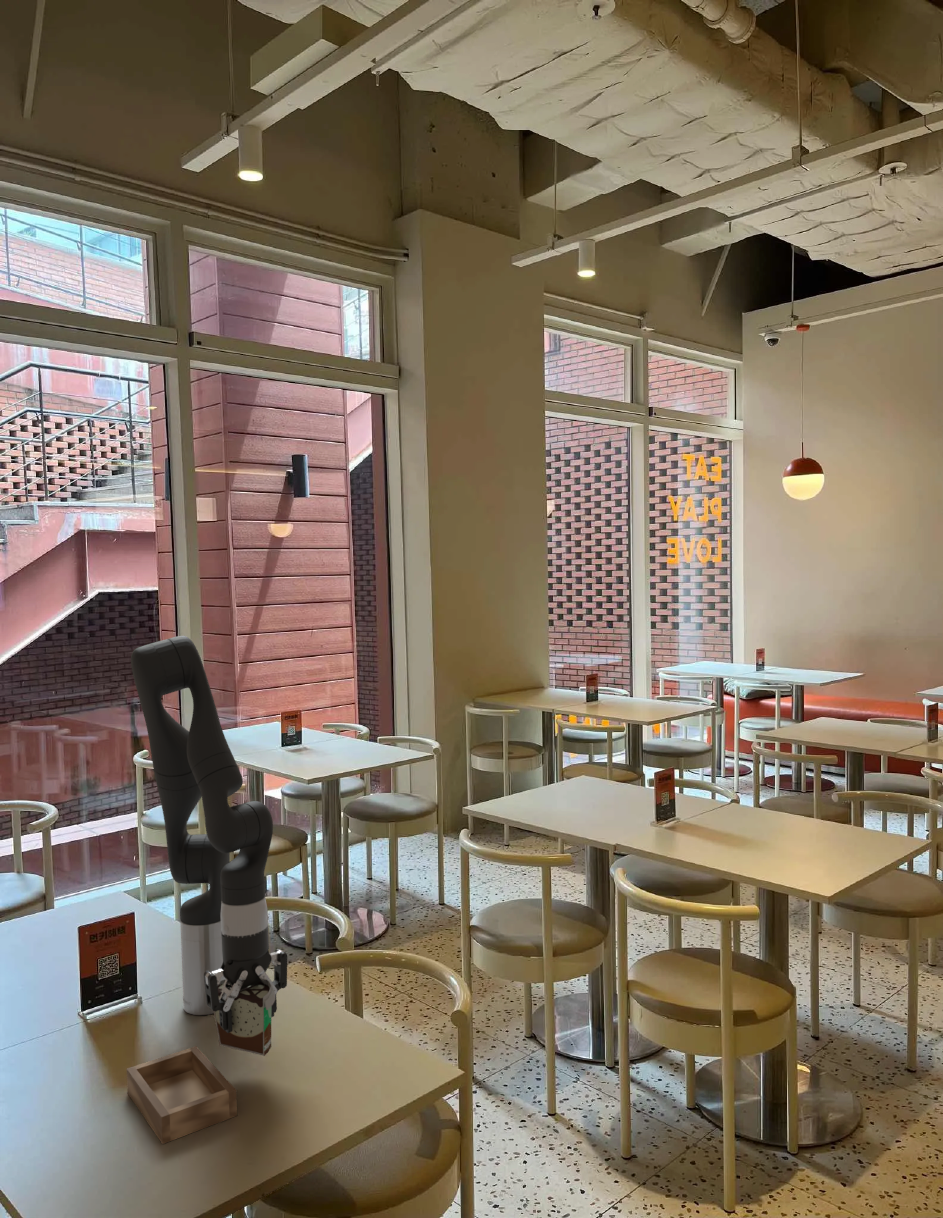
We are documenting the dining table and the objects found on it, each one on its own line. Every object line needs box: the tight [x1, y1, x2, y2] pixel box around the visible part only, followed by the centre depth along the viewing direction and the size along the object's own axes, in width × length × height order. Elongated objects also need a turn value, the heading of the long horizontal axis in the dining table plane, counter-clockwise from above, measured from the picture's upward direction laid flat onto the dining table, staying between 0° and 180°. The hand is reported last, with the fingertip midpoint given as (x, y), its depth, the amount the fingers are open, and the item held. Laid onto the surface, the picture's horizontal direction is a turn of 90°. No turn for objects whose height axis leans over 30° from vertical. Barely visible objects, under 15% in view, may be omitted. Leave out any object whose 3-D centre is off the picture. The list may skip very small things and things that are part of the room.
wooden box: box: [126, 1045, 238, 1145], centre depth 145 cm, size 11×17×4 cm, turn 36°
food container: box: [213, 979, 275, 1057], centre depth 153 cm, size 12×6×10 cm, turn 63°
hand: (248, 1023), depth 153 cm, fingers closed on food container, 7 cm apart
